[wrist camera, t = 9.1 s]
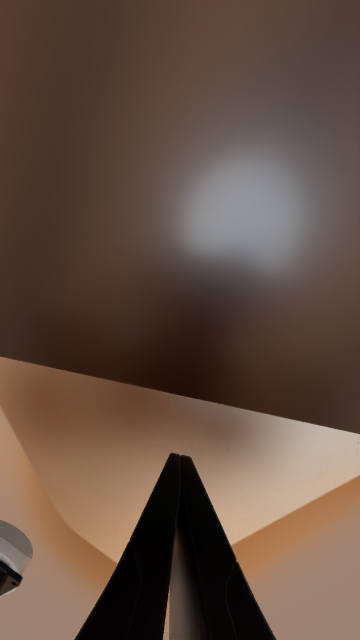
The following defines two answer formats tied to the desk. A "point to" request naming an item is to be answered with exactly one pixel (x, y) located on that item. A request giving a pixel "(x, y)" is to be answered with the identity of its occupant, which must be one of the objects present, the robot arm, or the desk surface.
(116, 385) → the desk surface
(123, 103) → the desk
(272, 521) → the desk surface
